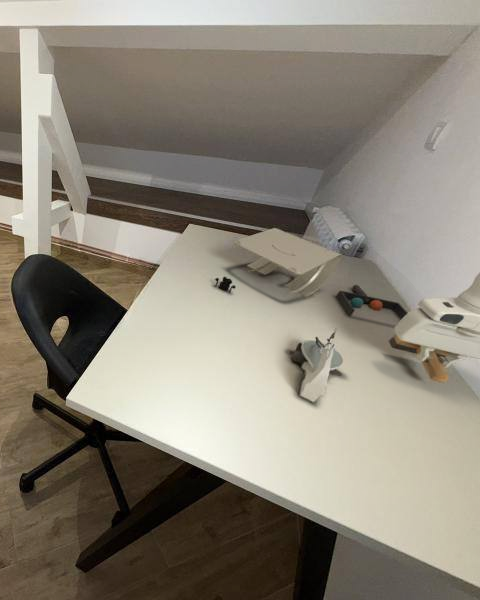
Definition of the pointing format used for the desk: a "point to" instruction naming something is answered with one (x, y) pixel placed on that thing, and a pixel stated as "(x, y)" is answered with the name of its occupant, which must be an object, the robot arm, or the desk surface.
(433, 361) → the wooden t-shaped block
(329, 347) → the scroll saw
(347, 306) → the dark flat angular piece
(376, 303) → the terracotta ball
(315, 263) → the laptop stand
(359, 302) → the teal ball
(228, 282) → the wireless earbuds
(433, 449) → the desk surface
